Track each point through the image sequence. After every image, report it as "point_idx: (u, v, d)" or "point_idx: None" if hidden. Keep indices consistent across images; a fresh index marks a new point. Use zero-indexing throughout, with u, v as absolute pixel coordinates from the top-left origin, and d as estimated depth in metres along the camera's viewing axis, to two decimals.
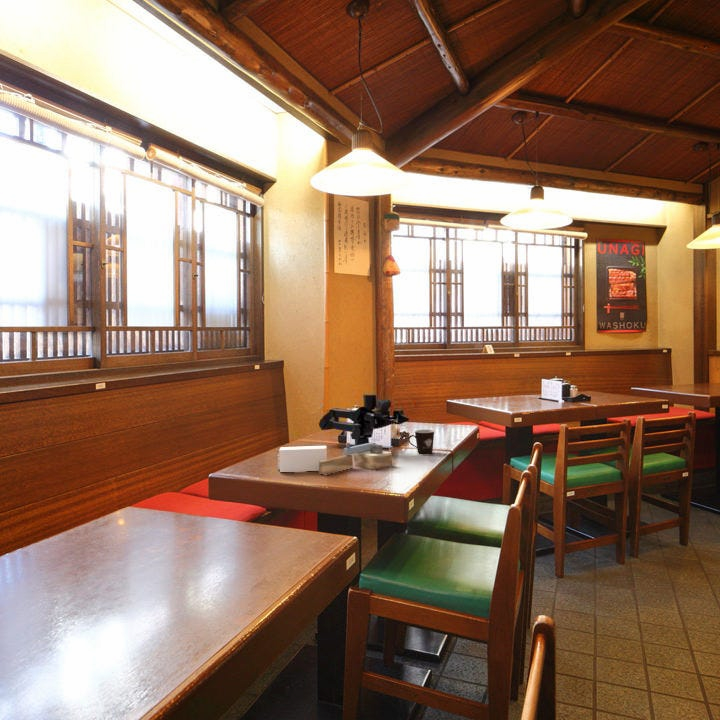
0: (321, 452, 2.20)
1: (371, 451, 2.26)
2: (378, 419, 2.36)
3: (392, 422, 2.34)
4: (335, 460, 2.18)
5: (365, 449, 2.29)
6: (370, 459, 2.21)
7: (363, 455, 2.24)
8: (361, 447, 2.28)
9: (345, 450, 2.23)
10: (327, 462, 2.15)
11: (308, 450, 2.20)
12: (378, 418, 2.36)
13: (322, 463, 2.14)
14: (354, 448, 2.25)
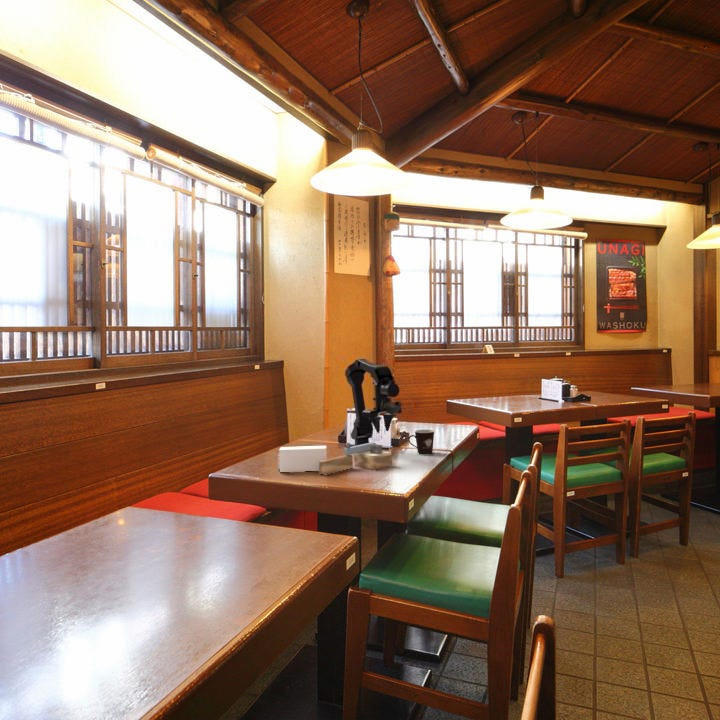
0: (321, 452, 2.20)
1: (371, 451, 2.26)
2: (374, 418, 2.33)
3: (377, 431, 2.35)
4: (335, 460, 2.18)
5: (365, 449, 2.29)
6: (370, 459, 2.21)
7: (363, 455, 2.24)
8: (361, 447, 2.28)
9: (345, 450, 2.23)
10: (327, 462, 2.15)
11: (308, 450, 2.20)
12: (375, 418, 2.33)
13: (322, 463, 2.14)
14: (354, 448, 2.25)
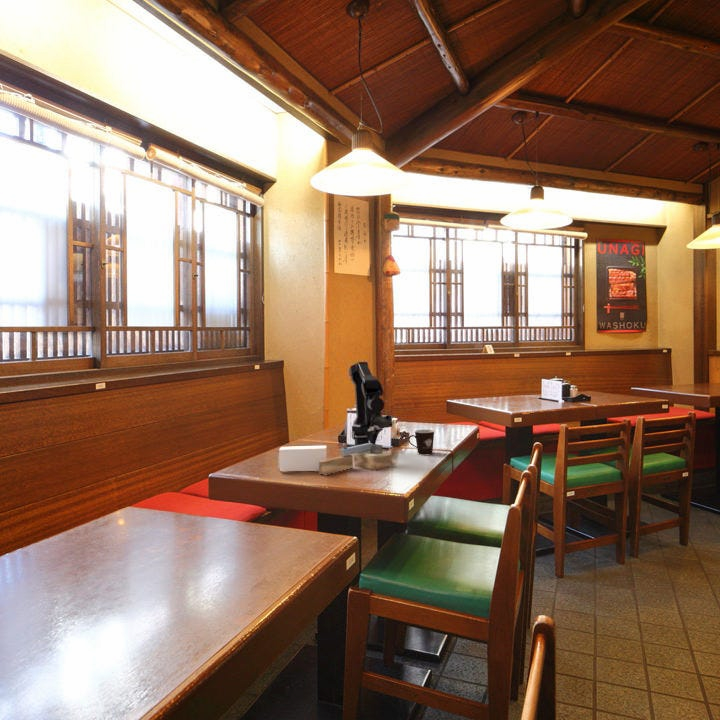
0: (321, 451, 2.20)
1: (371, 451, 2.26)
2: (369, 432, 2.31)
3: None
4: (335, 460, 2.18)
5: (362, 450, 2.28)
6: (370, 459, 2.21)
7: (363, 455, 2.24)
8: (358, 448, 2.26)
9: (342, 451, 2.22)
10: (327, 462, 2.15)
11: (308, 450, 2.21)
12: (369, 432, 2.30)
13: (322, 463, 2.14)
14: (351, 449, 2.24)
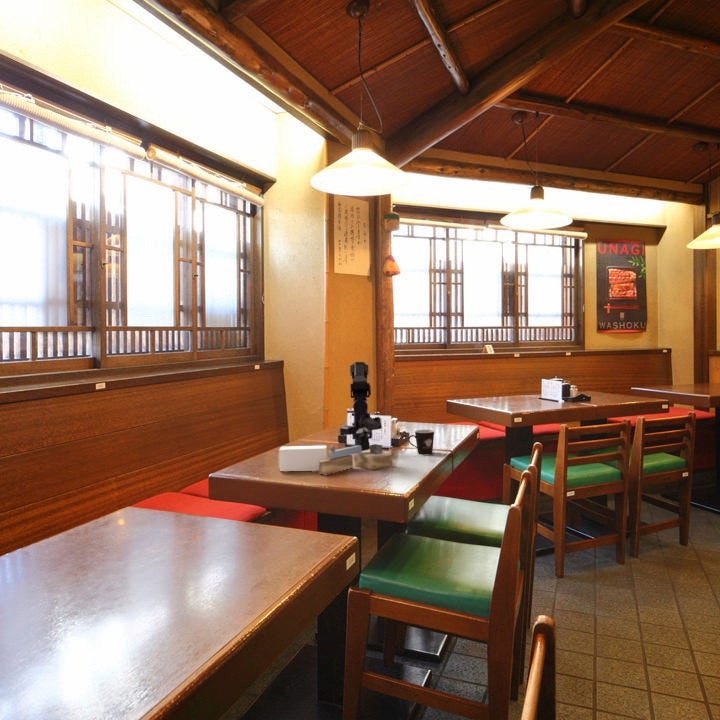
0: (321, 451, 2.21)
1: (371, 451, 2.26)
2: None
3: None
4: (335, 460, 2.18)
5: (351, 452, 2.24)
6: (370, 459, 2.21)
7: (363, 455, 2.24)
8: (346, 451, 2.22)
9: (330, 453, 2.18)
10: (327, 462, 2.15)
11: (308, 450, 2.21)
12: None
13: (322, 463, 2.14)
14: (339, 451, 2.20)
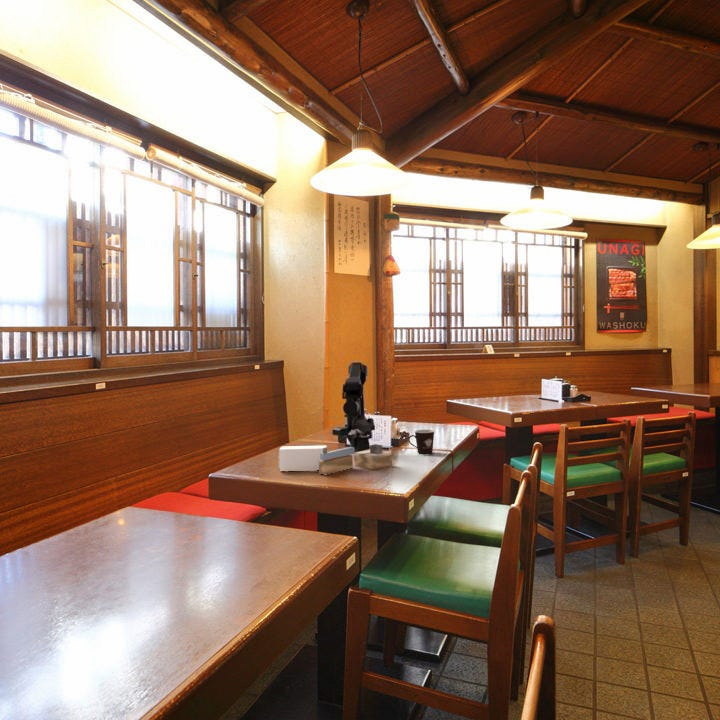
0: (321, 451, 2.21)
1: (371, 451, 2.26)
2: (350, 435, 2.24)
3: None
4: (335, 460, 2.18)
5: (343, 454, 2.21)
6: (370, 459, 2.21)
7: (363, 455, 2.24)
8: (338, 452, 2.19)
9: (322, 455, 2.15)
10: (327, 462, 2.15)
11: (308, 450, 2.21)
12: (351, 435, 2.23)
13: (322, 463, 2.14)
14: (331, 453, 2.17)
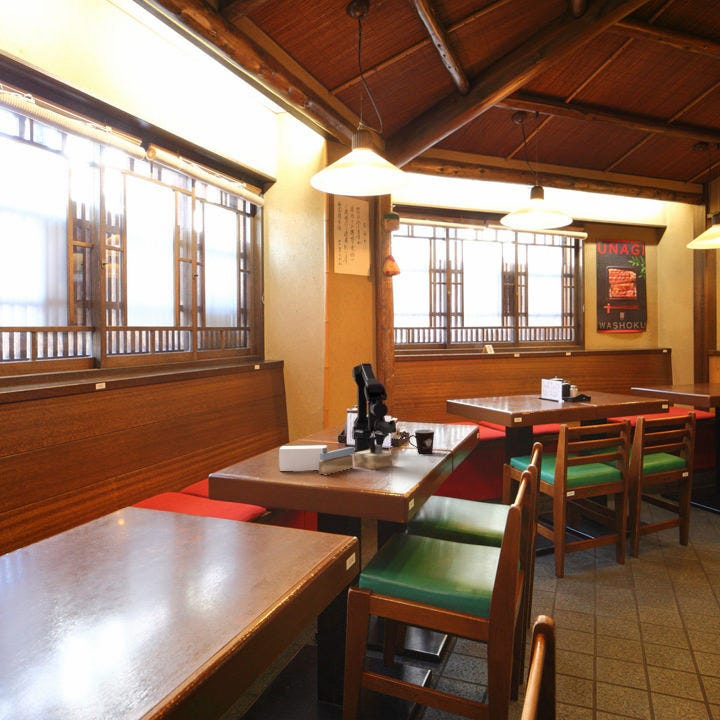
0: (321, 451, 2.21)
1: None
2: None
3: (372, 451, 2.25)
4: (335, 460, 2.18)
5: (343, 454, 2.21)
6: (370, 459, 2.21)
7: (363, 455, 2.24)
8: (338, 452, 2.19)
9: (322, 455, 2.15)
10: (327, 462, 2.15)
11: (308, 449, 2.21)
12: (370, 438, 2.22)
13: (322, 463, 2.14)
14: (331, 453, 2.17)
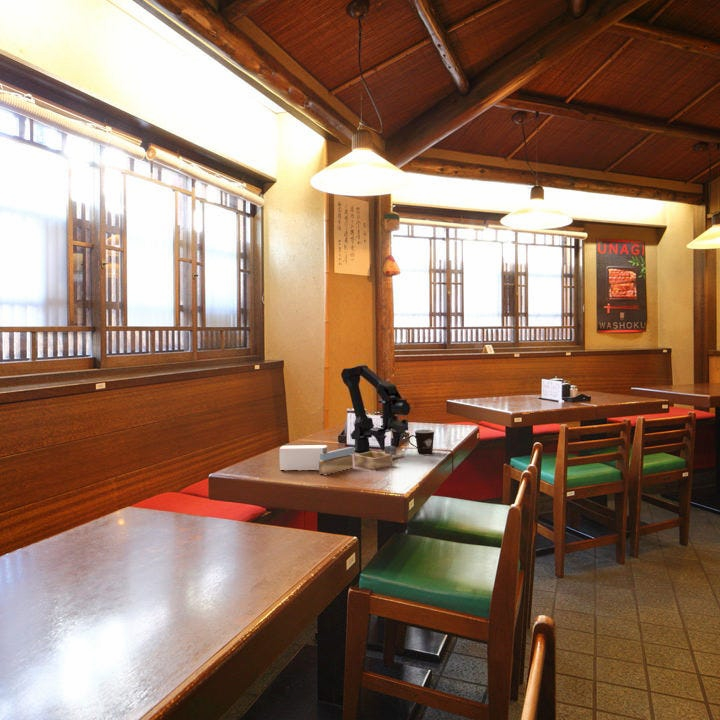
0: (320, 451, 2.21)
1: (386, 452, 2.42)
2: (379, 436, 2.37)
3: (382, 449, 2.40)
4: (335, 460, 2.18)
5: (343, 454, 2.21)
6: (370, 459, 2.21)
7: None
8: (338, 452, 2.19)
9: (322, 455, 2.15)
10: (327, 462, 2.15)
11: (307, 449, 2.22)
12: (380, 437, 2.37)
13: (322, 463, 2.14)
14: (331, 453, 2.17)
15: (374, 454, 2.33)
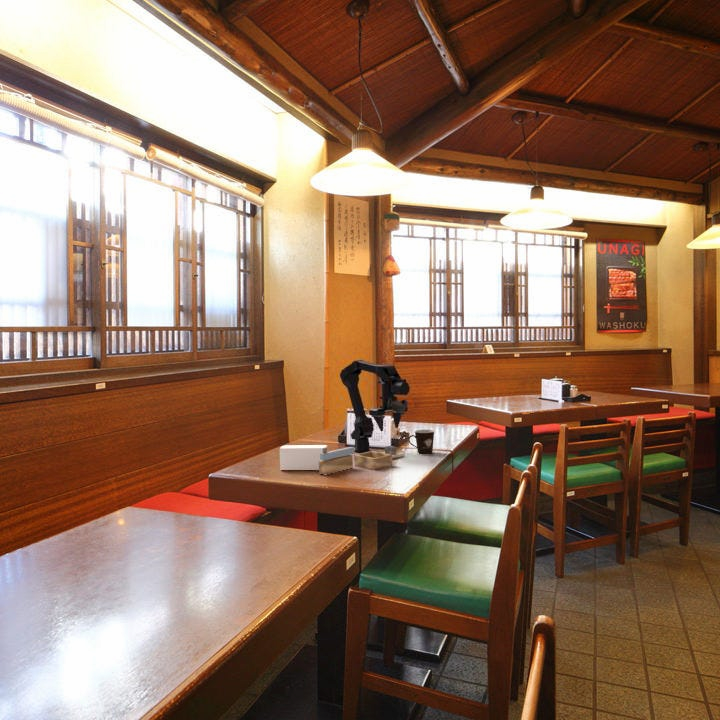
0: (320, 451, 2.21)
1: (386, 452, 2.42)
2: None
3: (381, 430, 2.39)
4: (335, 460, 2.18)
5: (343, 454, 2.21)
6: (370, 459, 2.21)
7: None
8: (338, 452, 2.19)
9: (322, 455, 2.15)
10: (327, 462, 2.15)
11: (307, 449, 2.22)
12: None
13: (322, 463, 2.14)
14: (331, 453, 2.17)
15: (374, 454, 2.33)
